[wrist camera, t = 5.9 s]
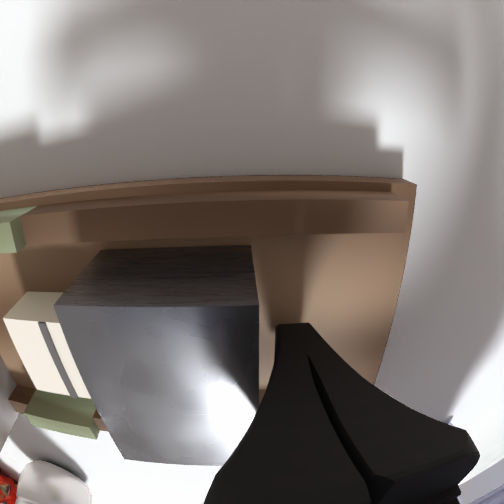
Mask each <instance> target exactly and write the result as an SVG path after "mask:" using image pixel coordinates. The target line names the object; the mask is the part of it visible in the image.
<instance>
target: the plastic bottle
mask: <svg viewBox="0 0 504 504" xmlns="http://www.w3.org/2000/svg"><path fill="white" fill-rule="evenodd" d="M16 497H17V499H16V501H15V504H91V502H92V495H91V493H90V490H89V488H88V486H87V485H86V484H85V483H84V482H83V481H82V480H81V479H79V478H78V477H77V476H75V475H73V474H72V473H70V472H68V471H67V470H65V469H63V468H61V467H58V466H56V465H54V464H51V463H49V462H45V461H41V460H35V461H33V462H30V463H28V464H27V465H26V466H25V468H24V469H23V471H22V472H21V474H20V476H19V480H18V485H17V491H16Z"/></svg>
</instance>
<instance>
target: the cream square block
mask: <svg viewBox="0 0 504 504" xmlns="http://www.w3.org/2000/svg"><path fill="white" fill-rule="evenodd" d="M63 293H64V292H29V291H28V292H27V293H26V294H25V295H24V296H23V297H22V298H21V299H20V300H19V301H18V302H17V303H16V304H15V305H14V306H13V307H12V308H11V310H10V311H9V312H8V313H7V314H6V315H5V316H4V317H3V320H4V322H5V325H6V327H7V330H8V332H9V334H10V337H11V339H12V341H13V343H14V345H15V348H16V350H17V352H18V354H19V356H20V358H21V360H22V362H23V364H24V366H25V368H26V370H27V372H28V374H29V376H30V378H31V380H32V381H33V383H34V385H35V387H36V389H37V390H41V391H46V392H52V393H57V394H63V395H69V396H71V398H76V399H78V397H82V398H89V399H91V397H90V395H89V393H88V391H87V389H86V386H85V384H84V382H83V380H82V378H81V375H80V373H79V371H78V369H77V366H76V364H75V362H74V359H73V357H72V354H71V352H70V349H69V347H68V344H67V342H66V339H65V336H64V334H63V331H62V328H61V326H60V323H59V320H58V317H57V314H56V311H55V308H54V304H55V302H56V301H57V300H58V299H59V298H60V296H61V295H62V294H63Z"/></svg>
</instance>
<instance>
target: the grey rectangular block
mask: <svg viewBox="0 0 504 504" xmlns="http://www.w3.org/2000/svg"><path fill="white" fill-rule="evenodd" d="M54 308H55V311H56V314H57V317H58V320H59V323H60V326H61V328H62V331H63V334H64V336H65V339H66V342H67V344H68V347H69V349H70V352H71V354H72V357H73V359H74V362H75V364H76V366H77V369H78V371H79V373H80V375H81V378H82V380H83V382H84V384H85V386H86V389H87V391H88V393H89V395H90V397H91V399H92V401H93V403H94V405H95V407H96V409H97V411H98V413H99V415H100V417H101V419H102V421H103V422H104V424H105V426H106V428H107V430H108V432H109V433H110V435H111V437H112V439H113V440H114V442H115V444H116V446H117V447H118V449H119V451H120V452H121V454H122V456H123V457H124V459H129V460H137V461H145V462H155V463H167V464H183V465H224V464H225V462H226V461H227V460H228V458H229V457H230V456H231V454H232V453H233V452H234V450H235V449H236V447H237V445H238V444H239V442H240V441H241V439H242V437H243V436H244V434H245V433H246V431H247V429H248V428H249V426H250V424H251V422H252V420H253V418H254V416H255V414H256V412H257V410H258V408H259V300H258V293H257V285H256V278H255V271H254V264H253V257H252V250H251V245H230V246H199V247H169V248H140V249H113V250H100V251H99V253H98V254H97V255H96V256H95V257H94V258H93V259H92V260H91V261H90V263H89V264H88V265H87V266H86V267H85V268H84V269H83V270H82V272H81V273H80V274H79V275H78V276H77V277H76V279H75V280H74V281H73V282H72V283H71V284H70V286H69V287H68V288H67V289H66V290H65V291H64V293H63V294H62V295H61V296H60V298H59V299H58V300H57V301H56V302H55V304H54Z"/></svg>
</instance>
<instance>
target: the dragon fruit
mask: <svg viewBox="0 0 504 504" xmlns="http://www.w3.org/2000/svg"><path fill="white" fill-rule="evenodd" d="M17 485H18V483H17V482H16V481H15V480H14V479H12V478H9V477H6V476H3V475H1V474H0V503H3V504H15V501H16V499H17V497H16V491H17Z"/></svg>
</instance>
